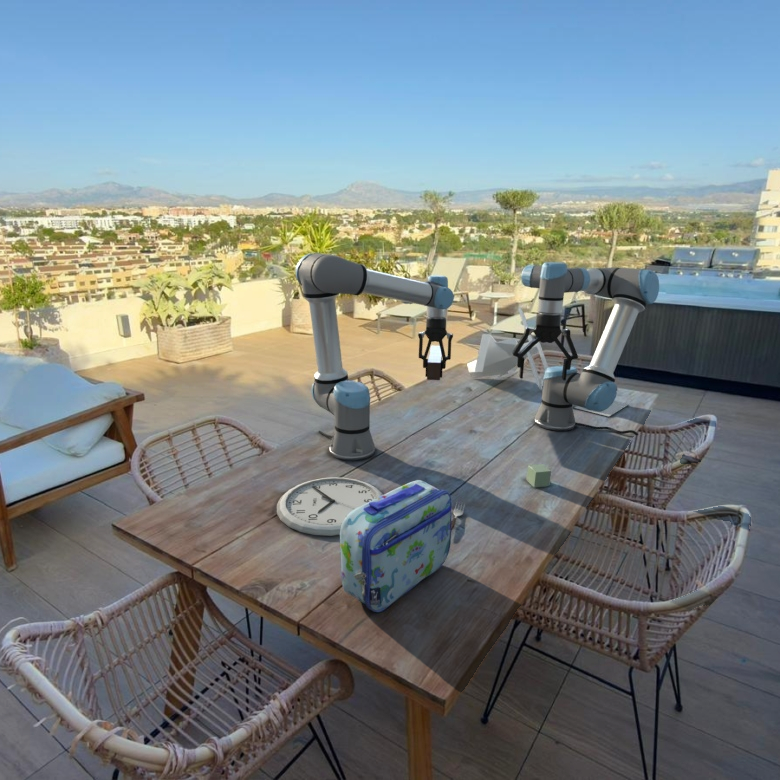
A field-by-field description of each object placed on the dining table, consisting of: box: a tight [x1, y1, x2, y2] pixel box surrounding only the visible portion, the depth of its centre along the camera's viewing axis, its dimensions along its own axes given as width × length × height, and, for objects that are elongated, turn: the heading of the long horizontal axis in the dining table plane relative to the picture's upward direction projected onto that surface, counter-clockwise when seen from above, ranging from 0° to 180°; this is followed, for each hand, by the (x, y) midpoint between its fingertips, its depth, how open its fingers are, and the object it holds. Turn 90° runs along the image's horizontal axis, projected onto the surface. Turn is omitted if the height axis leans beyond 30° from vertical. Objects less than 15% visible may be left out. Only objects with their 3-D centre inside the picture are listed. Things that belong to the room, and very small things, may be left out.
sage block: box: [526, 463, 552, 489], centre depth 157 cm, size 5×5×5 cm
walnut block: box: [426, 344, 443, 381], centre depth 215 cm, size 30×5×7 cm, turn 173°
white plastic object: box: [466, 306, 549, 391], centre depth 257 cm, size 37×45×31 cm
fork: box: [451, 500, 466, 531], centre depth 135 cm, size 3×16×2 cm, turn 160°
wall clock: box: [276, 476, 385, 537], centre depth 142 cm, size 30×2×30 cm
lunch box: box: [339, 479, 452, 613], centre depth 109 cm, size 26×11×21 cm, turn 134°
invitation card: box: [573, 401, 629, 418], centre depth 226 cm, size 21×1×15 cm
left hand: (433, 376), depth 205 cm, fingers closed on walnut block, 5 cm apart
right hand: (542, 378), depth 170 cm, fingers open, 13 cm apart
